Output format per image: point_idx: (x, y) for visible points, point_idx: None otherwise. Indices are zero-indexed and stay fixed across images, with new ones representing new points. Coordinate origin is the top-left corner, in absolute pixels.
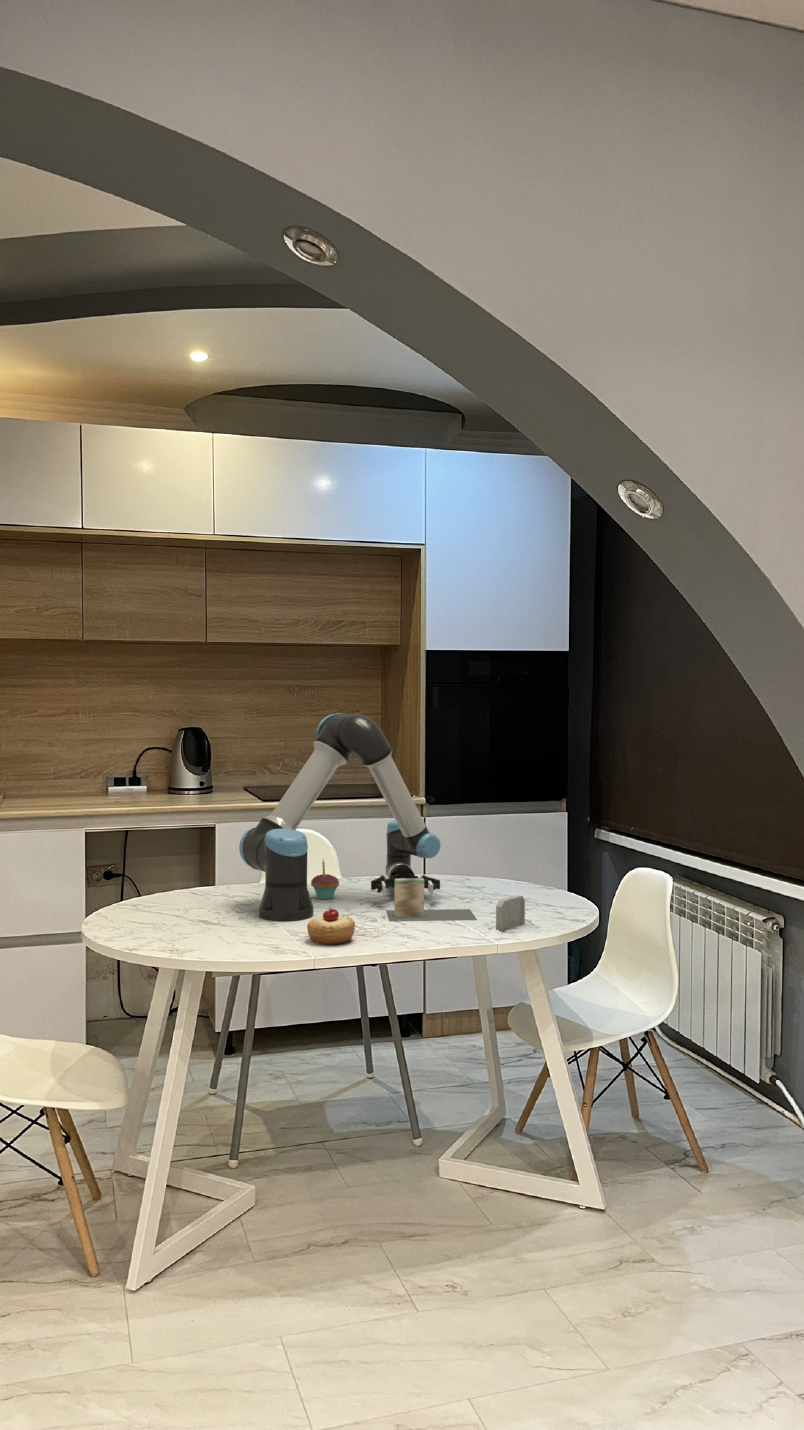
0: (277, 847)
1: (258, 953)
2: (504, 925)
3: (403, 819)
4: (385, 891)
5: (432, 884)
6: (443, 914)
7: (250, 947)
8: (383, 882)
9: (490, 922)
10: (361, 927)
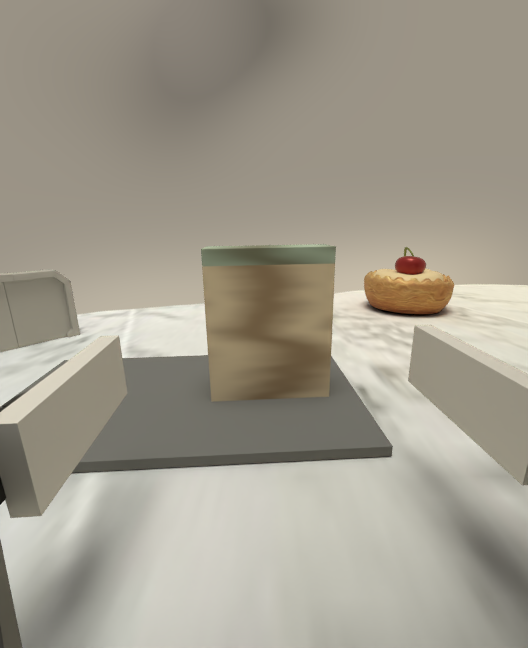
0: None
1: (467, 291)
2: (51, 330)
3: None
4: (412, 360)
5: (95, 343)
6: (131, 397)
7: (502, 297)
8: (503, 370)
9: (29, 366)
10: (389, 340)
